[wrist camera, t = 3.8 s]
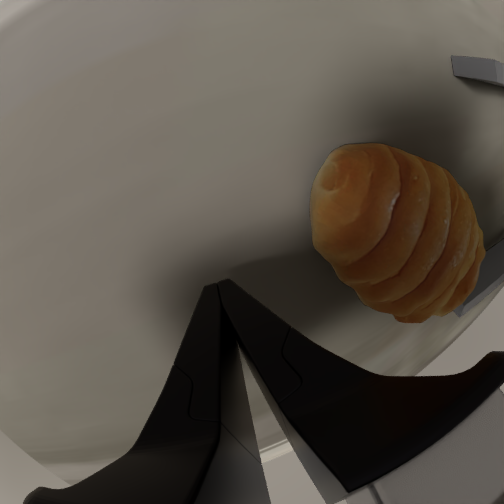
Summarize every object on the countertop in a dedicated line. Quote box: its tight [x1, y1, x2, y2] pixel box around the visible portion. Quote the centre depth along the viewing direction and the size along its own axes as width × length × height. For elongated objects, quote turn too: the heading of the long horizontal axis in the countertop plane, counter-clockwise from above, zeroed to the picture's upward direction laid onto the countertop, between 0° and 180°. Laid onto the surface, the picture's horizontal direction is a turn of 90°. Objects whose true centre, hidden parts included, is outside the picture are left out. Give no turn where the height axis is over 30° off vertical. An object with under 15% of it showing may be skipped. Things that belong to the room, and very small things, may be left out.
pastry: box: [310, 143, 486, 323], centre depth 9 cm, size 9×7×4 cm
